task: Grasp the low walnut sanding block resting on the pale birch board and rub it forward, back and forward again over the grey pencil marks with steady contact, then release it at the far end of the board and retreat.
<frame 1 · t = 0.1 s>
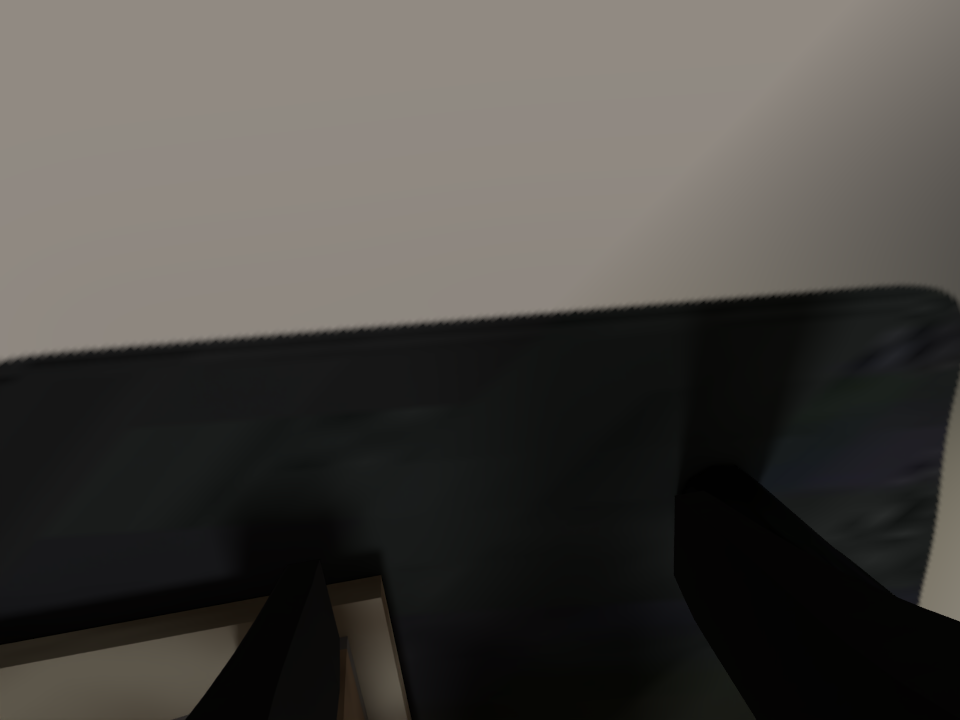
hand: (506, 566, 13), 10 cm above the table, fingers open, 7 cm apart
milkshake: (704, 501, 26), on the table
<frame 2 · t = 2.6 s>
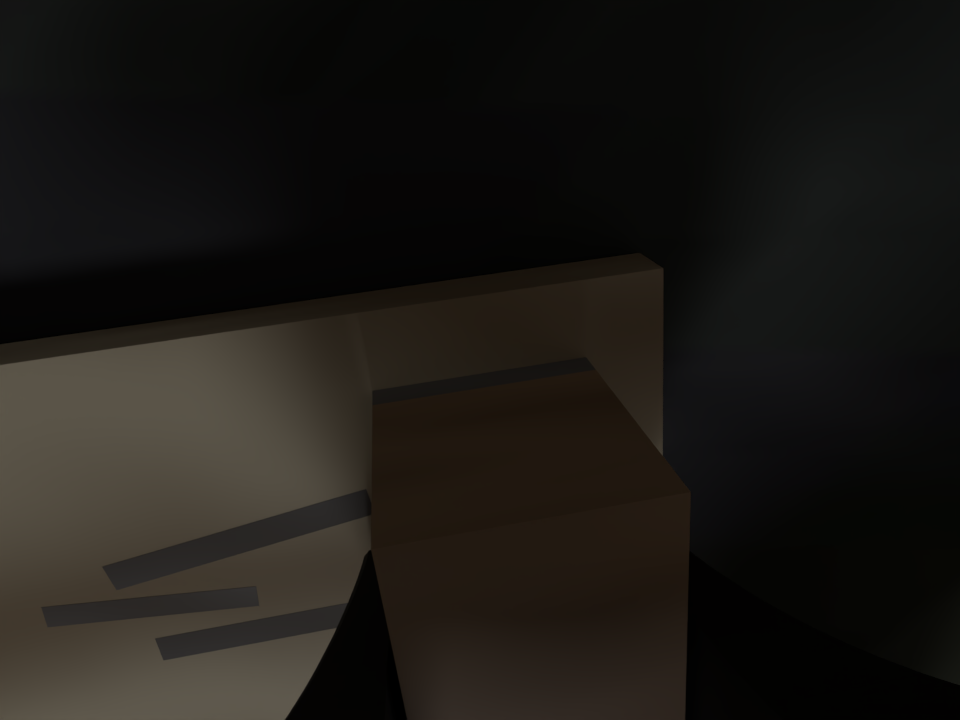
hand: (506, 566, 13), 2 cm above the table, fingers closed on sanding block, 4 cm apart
board: (294, 567, 15), on the table
sanding block: (500, 547, 14), point 1 cm above the table, touching board, gripper
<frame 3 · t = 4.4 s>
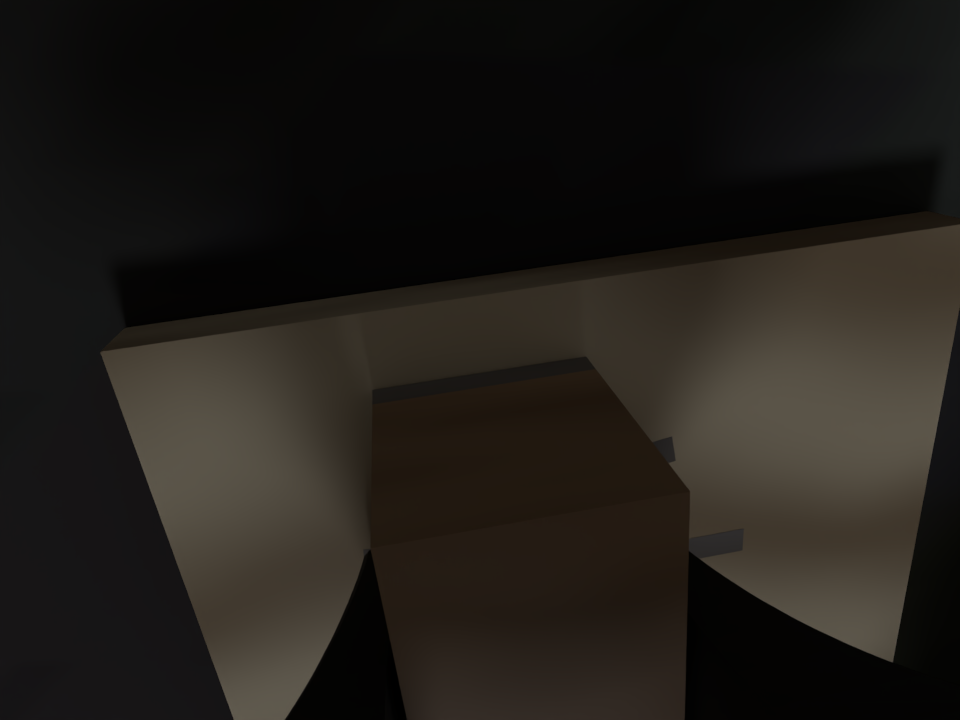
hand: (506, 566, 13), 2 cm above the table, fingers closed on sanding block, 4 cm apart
board: (565, 518, 15), on the table
sanding block: (500, 546, 14), point 1 cm above the table, touching gripper
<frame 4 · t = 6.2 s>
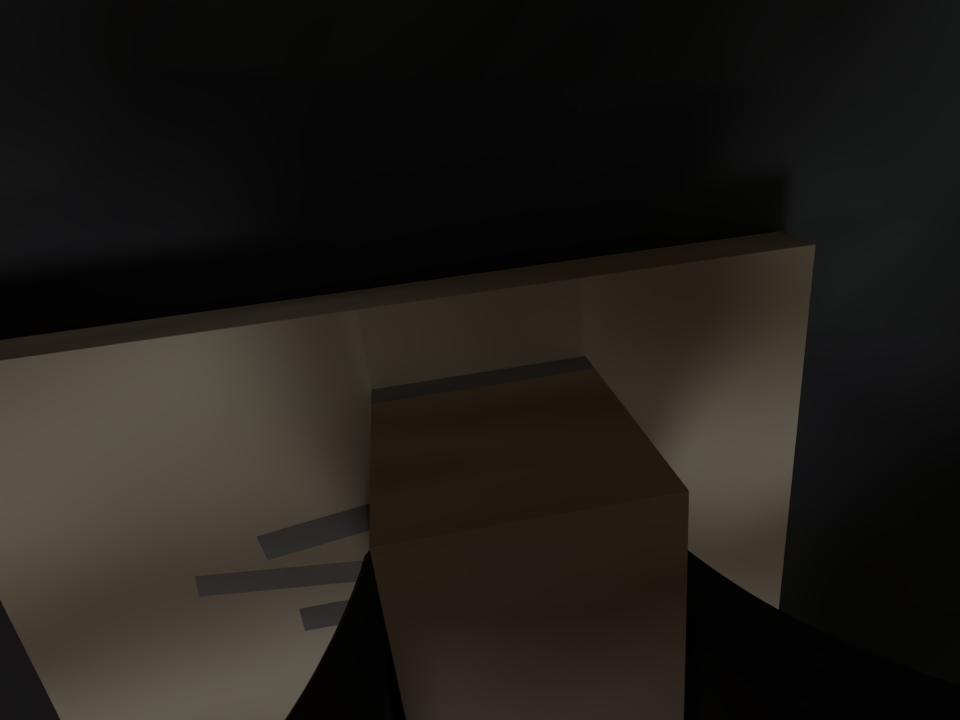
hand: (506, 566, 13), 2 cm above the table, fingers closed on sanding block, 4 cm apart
board: (423, 541, 15), on the table
sanding block: (500, 546, 14), point 1 cm above the table, touching gripper
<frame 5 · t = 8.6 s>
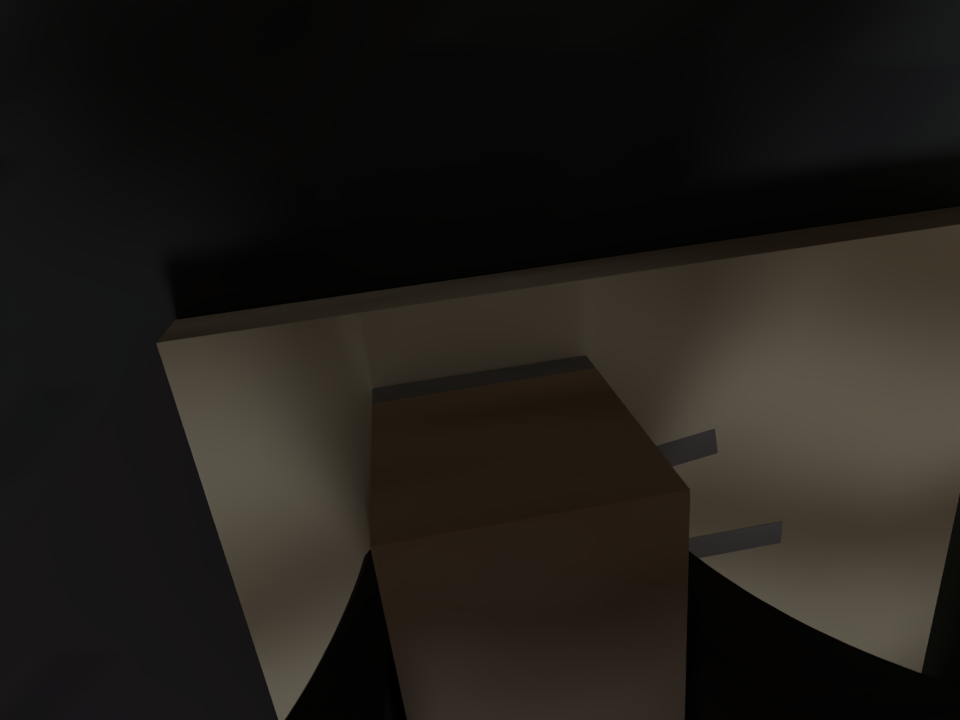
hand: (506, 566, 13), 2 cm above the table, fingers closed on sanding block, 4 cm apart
board: (603, 510, 15), on the table
sanding block: (500, 546, 14), point 1 cm above the table, touching gripper
when the fingers open (2 cm above the table, at t = 10.2 s): sanding block stays where it is, resting on board.
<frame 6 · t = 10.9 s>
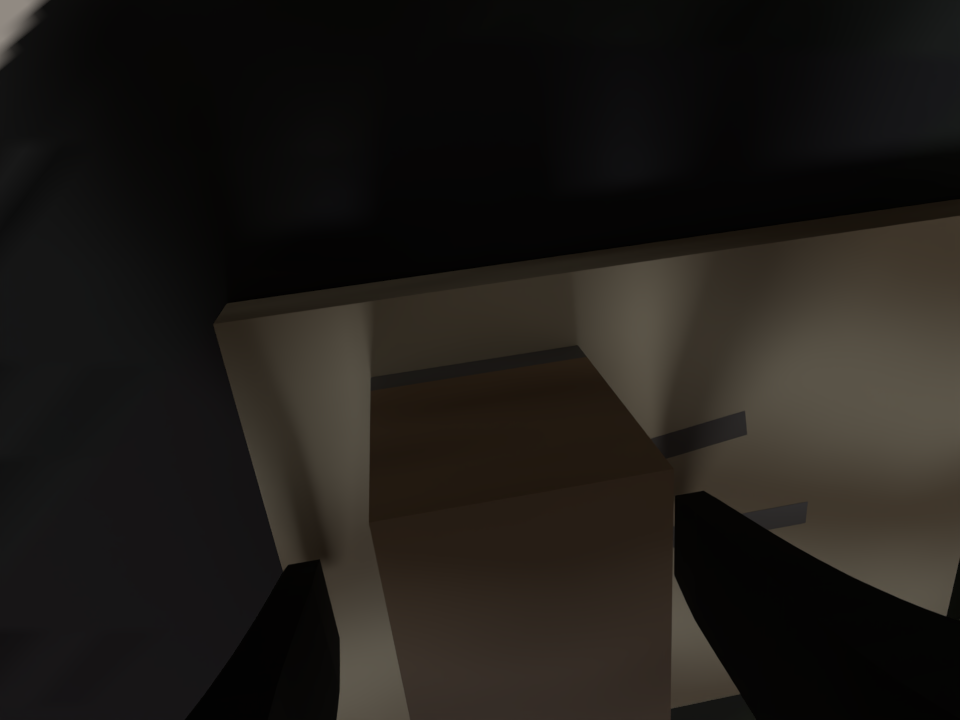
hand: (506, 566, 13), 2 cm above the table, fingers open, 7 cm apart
board: (633, 492, 16), on the table
sanding block: (495, 531, 14), point 1 cm above the table, touching board
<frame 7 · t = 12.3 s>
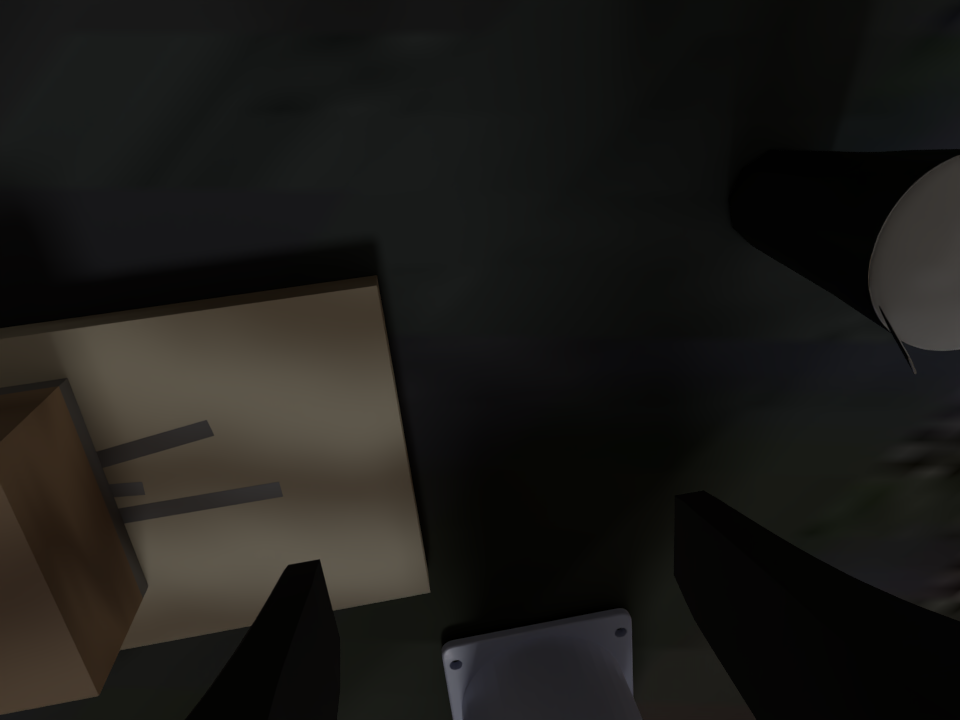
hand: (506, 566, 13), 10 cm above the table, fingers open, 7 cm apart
board: (173, 475, 23), on the table
sanding block: (46, 500, 21), point 1 cm above the table, touching board
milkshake: (759, 204, 22), on the table
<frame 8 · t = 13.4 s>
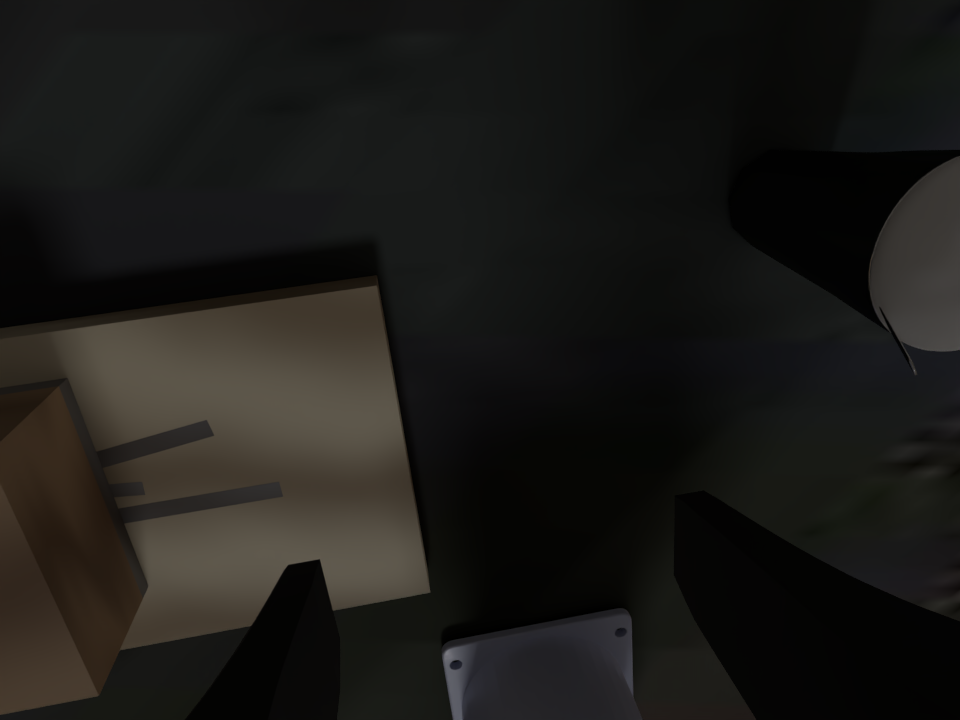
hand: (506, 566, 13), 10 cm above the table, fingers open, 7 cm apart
board: (173, 475, 23), on the table
sanding block: (46, 500, 21), point 1 cm above the table, touching board
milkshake: (759, 204, 22), on the table
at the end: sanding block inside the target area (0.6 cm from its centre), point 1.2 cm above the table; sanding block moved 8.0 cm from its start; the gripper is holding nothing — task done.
